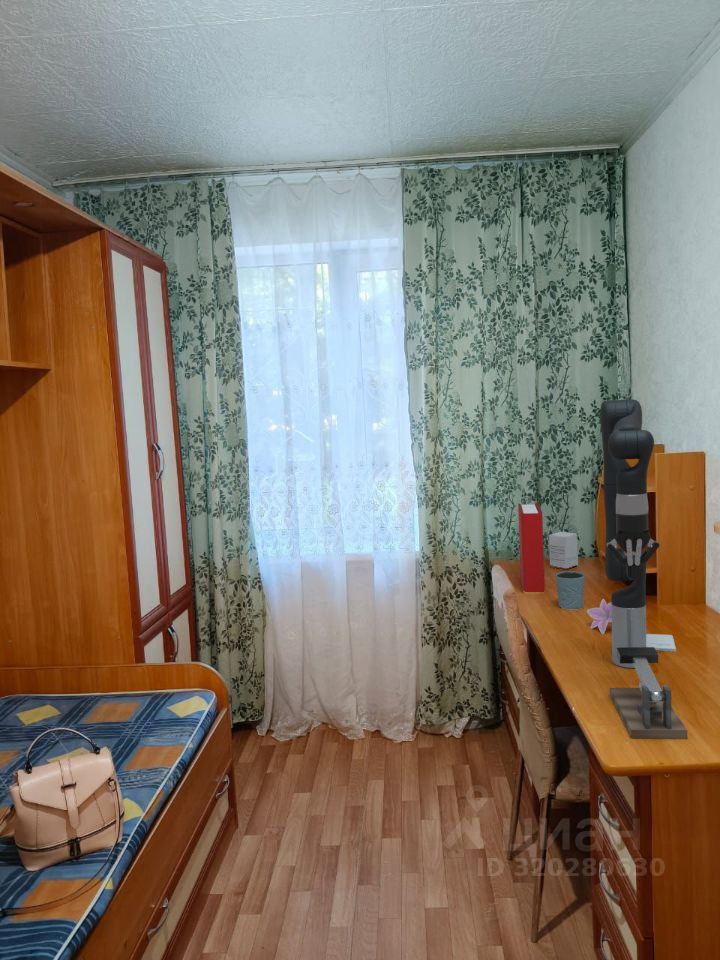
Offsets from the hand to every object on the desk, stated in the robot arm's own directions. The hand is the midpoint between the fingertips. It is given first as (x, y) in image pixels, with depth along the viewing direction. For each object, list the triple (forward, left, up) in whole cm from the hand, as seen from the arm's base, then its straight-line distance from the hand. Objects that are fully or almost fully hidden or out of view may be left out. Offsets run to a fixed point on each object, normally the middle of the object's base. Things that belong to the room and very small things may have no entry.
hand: (632, 579), depth 185 cm
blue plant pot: (-80, -4, -31) cm, 86 cm away
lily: (-54, +3, -31) cm, 63 cm away
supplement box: (-141, +2, -31) cm, 144 cm away
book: (-111, -15, -31) cm, 116 cm away
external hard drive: (-39, +16, -32) cm, 53 cm away
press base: (+11, 0, -31) cm, 33 cm away
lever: (+11, 0, -23) cm, 25 cm away
